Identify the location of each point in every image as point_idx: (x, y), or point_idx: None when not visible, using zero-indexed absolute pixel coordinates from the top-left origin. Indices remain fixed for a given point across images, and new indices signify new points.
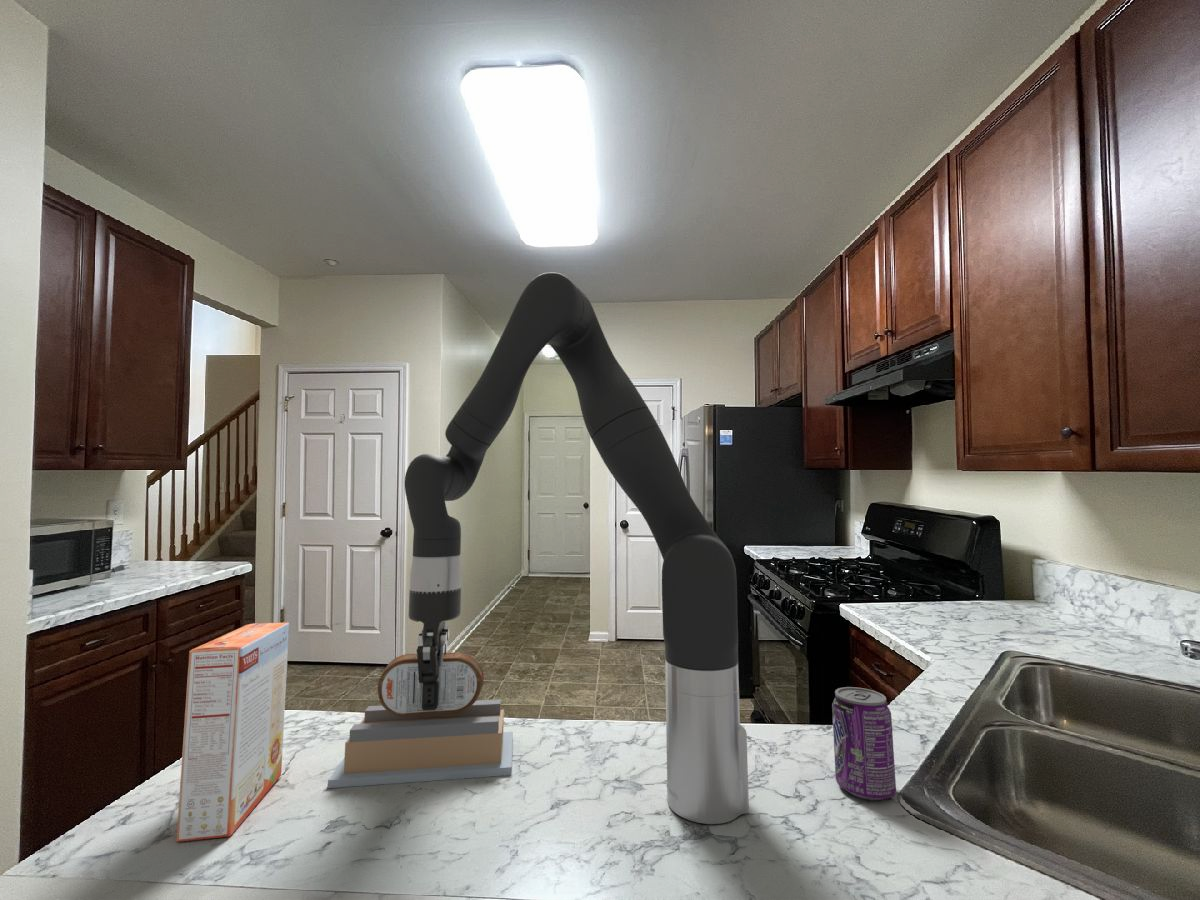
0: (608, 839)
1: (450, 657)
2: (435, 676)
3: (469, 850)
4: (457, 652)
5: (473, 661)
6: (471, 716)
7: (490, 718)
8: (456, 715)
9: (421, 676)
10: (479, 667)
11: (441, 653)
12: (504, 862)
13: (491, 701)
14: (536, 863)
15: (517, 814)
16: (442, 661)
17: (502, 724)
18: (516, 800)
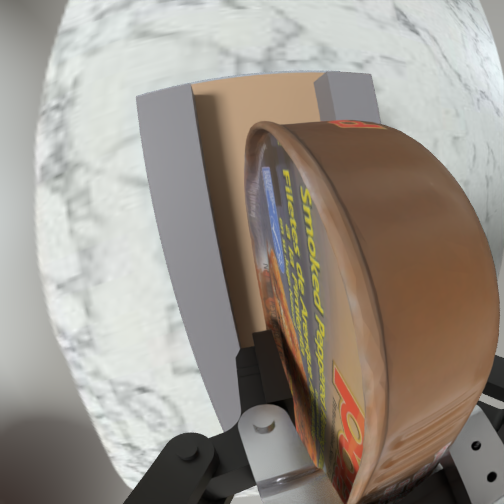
0: (449, 4)
1: (463, 421)
2: (498, 359)
3: (485, 142)
4: (371, 463)
5: (423, 212)
6: (214, 195)
7: (351, 99)
8: (222, 251)
9: (480, 402)
10: (331, 141)
11: (501, 452)
12: (492, 106)
13: (160, 127)
14: (488, 77)
15: (436, 78)
16: (482, 414)
17: (279, 74)
18: (409, 74)
